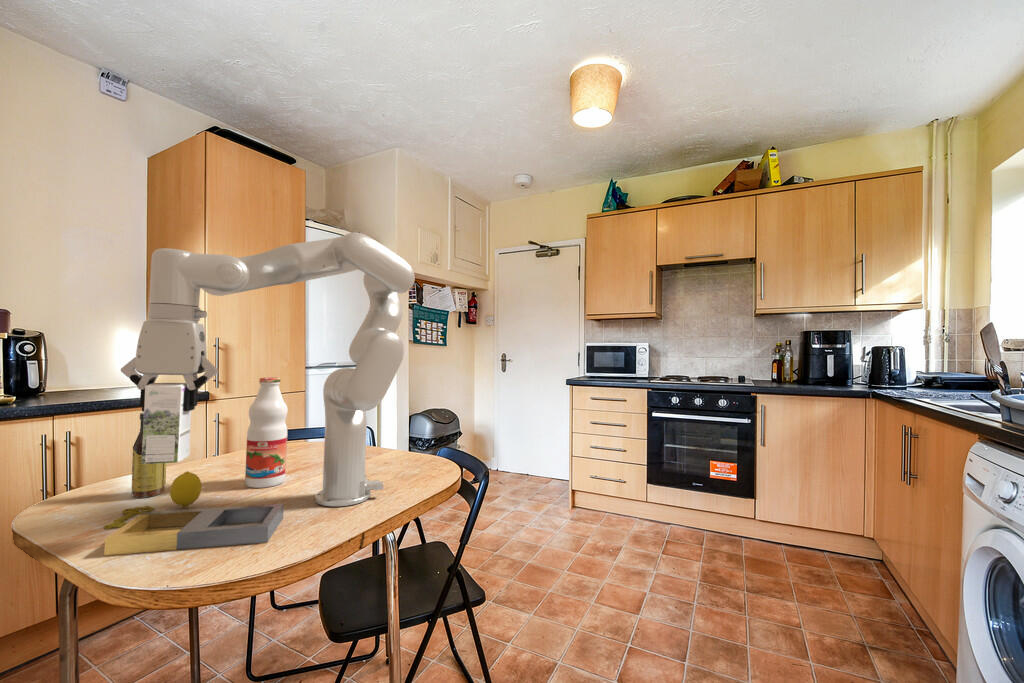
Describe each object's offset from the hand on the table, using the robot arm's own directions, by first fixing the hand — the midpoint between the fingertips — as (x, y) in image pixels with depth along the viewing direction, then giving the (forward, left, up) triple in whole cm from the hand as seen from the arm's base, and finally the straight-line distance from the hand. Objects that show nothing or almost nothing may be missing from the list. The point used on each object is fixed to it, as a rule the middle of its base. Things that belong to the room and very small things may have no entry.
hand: (169, 409), depth 81 cm
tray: (-7, 0, -24) cm, 25 cm away
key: (+12, -13, -25) cm, 30 cm away
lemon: (+3, -17, -24) cm, 30 cm away
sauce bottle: (+15, -28, -24) cm, 40 cm away
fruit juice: (-9, -33, -24) cm, 42 cm away
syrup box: (0, 0, -10) cm, 10 cm away
